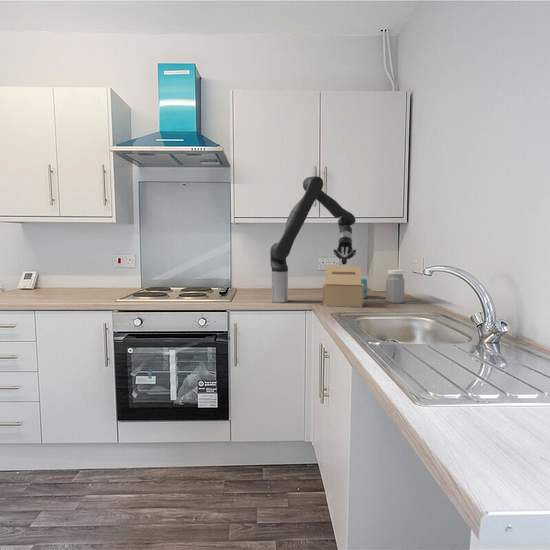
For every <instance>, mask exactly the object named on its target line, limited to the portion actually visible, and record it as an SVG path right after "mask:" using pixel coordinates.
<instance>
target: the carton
mask: <svg viewBox="0 0 550 550" xmlns="http://www.w3.org/2000/svg"><path fill="white" fill-rule="evenodd" d="M362 295H363V298H362ZM364 299H365V298H364V284H363V283H361V285H333V284H325V282H324V283H323V285H322V304H323V306H324V305H328V306H327V307H339V306H345V308H363V306H364V301H365V300H364Z"/></svg>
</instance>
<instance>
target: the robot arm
mask: <svg viewBox="0 0 550 550" xmlns="http://www.w3.org/2000/svg"><path fill="white" fill-rule="evenodd" d="M323 187H324V180H323V178H322V177H320V176H318V175H317V176H316V175H314V176H310V177H306V178H305V179H304V180H303V182H302V188H303V190H304V191H305V192H304V194H303V195H302V197H301V198H300V200H298V202H297V203H296V204H295V205H294V206H293V208H292V209H291V211H290V213H289V215H288V217H287V219H286V223H285V227H284V232H283V234H282V236H281V238H280V239H279V241H278V242H276V243H273V244H272V246H271V247H270V268H271V302H272V303H287V302H288V301H289V267H288V265H287V258H288V257H289V255H290V253H291V250H292V247H293V245H294V242H295V240H296V238H297V236H298V234H299V233H300V231H301V229H302V227H303V225H304V223H305V221H306V219H307V217H308V216H309V213H310V211H311V209H312V207H313V205H314V203H315V201H316V200H317V202H319V203H320V204H321V205H322V206H323V207H324V208H325V209H326V210H327V211H328V212H329V213H330V214H331V215H332V216H333V217H334V218H335V219H337V225H338V227H339V237H338V247H337V248H336V249H333V255H335V256H336V257H337V258H338V259H339V260H341V264H342V265H346V264H347V263H348V259H349V260H350V259H352V258H353V257H354V256H356V254H357V249H354V248H353V230H352V229H353V228H352V225H354V224H355V223H356V217H355V215H354V214H353V213H352V212H350V211H348V210H346V209H345V208H343V207H342V206H341V205H340V203H339V202H338V201H336V200H335V199H334V198H332V196H330V195H329V194H327V193H325V191H323V189H324V188H323ZM338 218H339V219H338Z"/></svg>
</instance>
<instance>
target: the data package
mask: <svg viewBox="0 0 550 550" xmlns="http://www.w3.org/2000/svg"><path fill="white" fill-rule="evenodd" d="M361 283H363V284H364V299H366V298H367V297H368V295H367V294H368V279H367V278H365V277H361ZM362 299H363V295H362Z"/></svg>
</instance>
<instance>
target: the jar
mask: <svg viewBox="0 0 550 550" xmlns="http://www.w3.org/2000/svg"><path fill="white" fill-rule="evenodd" d="M385 279H386V282H385V285H386V286H385V302H387V303H388V302H390V303H389V304H397V303H398V304H403V303H404V301H405V281H406V280H405V278H404V270H403V269H388V270H387V277H386V278H385ZM402 302H403V303H402Z"/></svg>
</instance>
